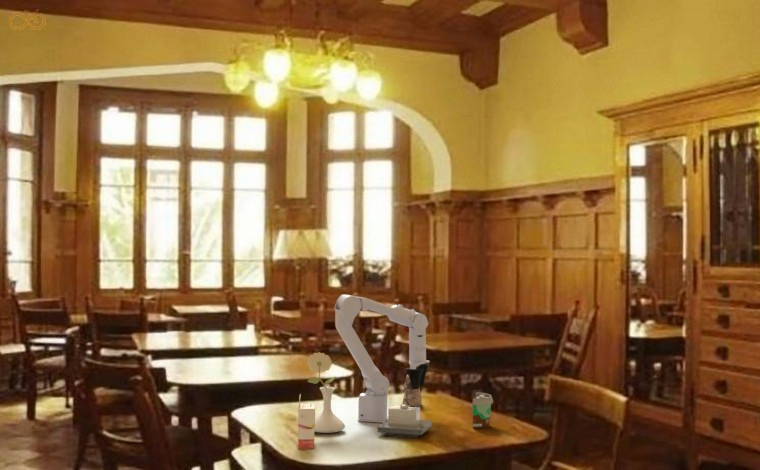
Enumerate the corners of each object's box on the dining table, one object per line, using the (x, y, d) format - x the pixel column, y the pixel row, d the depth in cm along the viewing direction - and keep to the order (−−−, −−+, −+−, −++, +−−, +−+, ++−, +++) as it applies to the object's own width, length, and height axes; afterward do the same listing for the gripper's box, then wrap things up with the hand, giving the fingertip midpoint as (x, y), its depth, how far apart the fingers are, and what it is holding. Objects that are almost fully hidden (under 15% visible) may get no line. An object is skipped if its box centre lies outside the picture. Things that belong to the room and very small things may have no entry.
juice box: (315, 449, 246) (315, 398, 246) (297, 449, 245) (298, 398, 245) (314, 442, 254) (315, 393, 254) (298, 442, 254) (298, 393, 254)
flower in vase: (350, 429, 272) (350, 351, 272) (337, 437, 261) (337, 355, 261) (313, 426, 276) (313, 349, 276) (298, 433, 265) (298, 353, 265)
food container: (491, 430, 271) (491, 399, 271) (472, 429, 272) (472, 398, 272) (494, 422, 283) (494, 392, 283) (475, 421, 284) (476, 391, 284)
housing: (416, 426, 263) (416, 407, 263) (387, 424, 265) (388, 406, 265) (420, 423, 268) (420, 404, 268) (392, 421, 270) (392, 402, 270)
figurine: (401, 403, 316) (401, 370, 316) (420, 402, 317) (420, 370, 317) (403, 406, 309) (404, 373, 309) (423, 406, 310) (423, 373, 310)
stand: (377, 436, 261) (377, 427, 262) (389, 427, 275) (389, 417, 275) (421, 440, 258) (421, 430, 258) (431, 430, 271) (431, 420, 271)
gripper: (424, 350, 282) (424, 391, 282) (433, 345, 296) (433, 384, 296) (403, 350, 284) (404, 390, 284) (413, 344, 298) (414, 383, 298)
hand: (418, 387), depth 290 cm, fingers open, 7 cm apart
